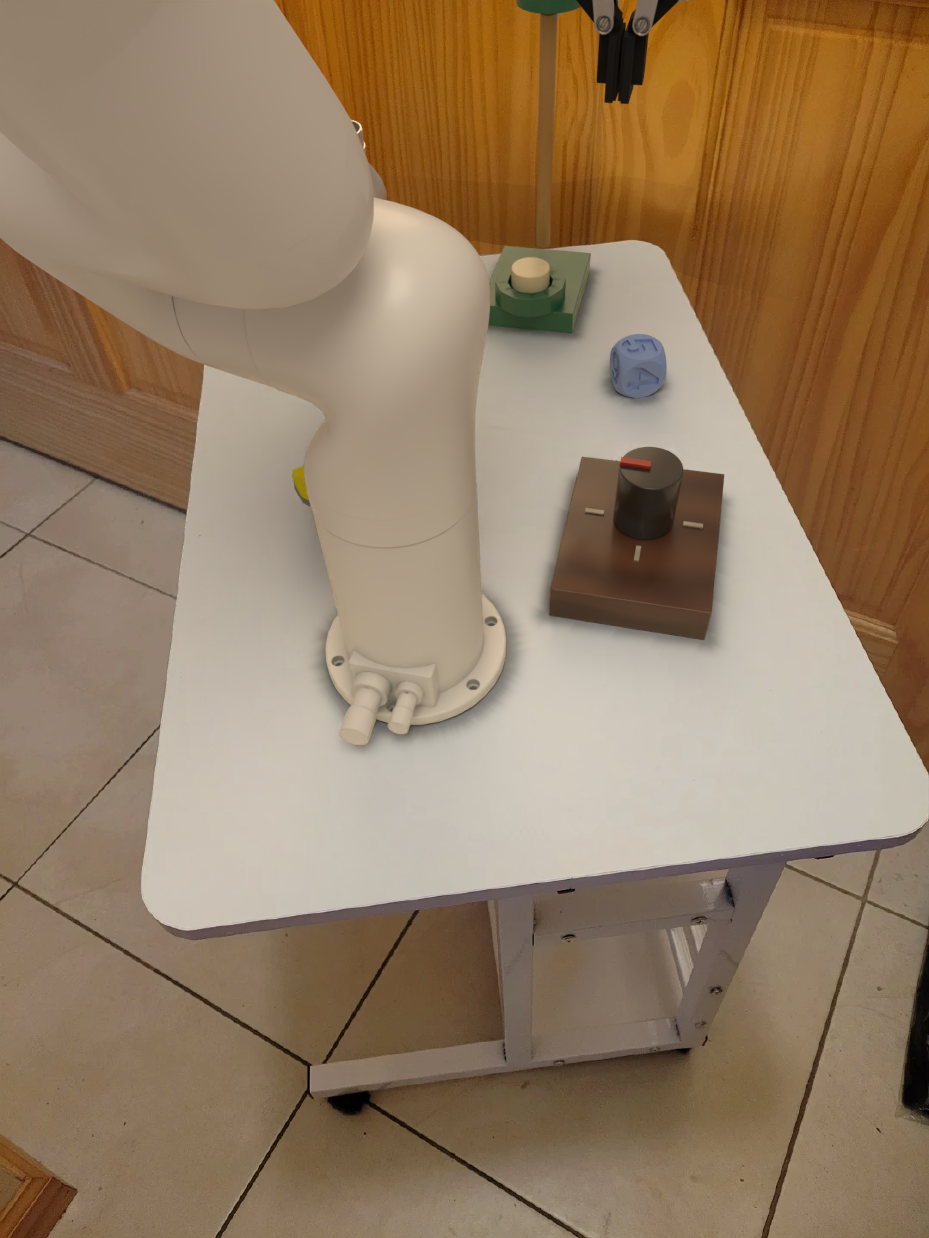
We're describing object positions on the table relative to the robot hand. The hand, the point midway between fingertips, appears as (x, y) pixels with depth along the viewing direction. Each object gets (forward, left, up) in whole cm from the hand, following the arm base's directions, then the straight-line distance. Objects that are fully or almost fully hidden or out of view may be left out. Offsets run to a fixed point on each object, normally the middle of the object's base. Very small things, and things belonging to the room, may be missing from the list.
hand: (619, 94), depth 60 cm
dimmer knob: (-17, -6, -22) cm, 28 cm away
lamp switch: (+11, +8, -21) cm, 26 cm away
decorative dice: (+3, -3, -25) cm, 26 cm away
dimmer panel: (-18, -6, -25) cm, 31 cm away
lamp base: (+15, +8, -25) cm, 30 cm away
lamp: (+19, +8, -21) cm, 29 cm away
